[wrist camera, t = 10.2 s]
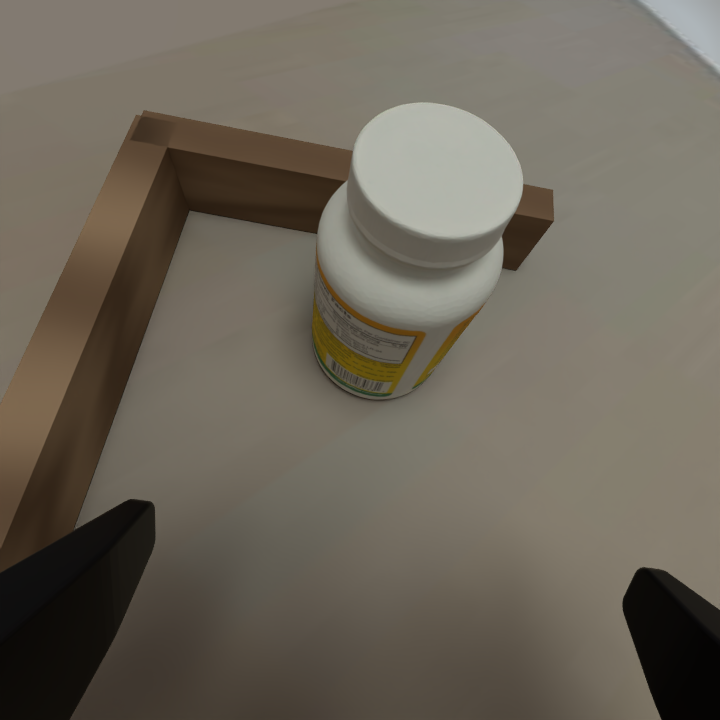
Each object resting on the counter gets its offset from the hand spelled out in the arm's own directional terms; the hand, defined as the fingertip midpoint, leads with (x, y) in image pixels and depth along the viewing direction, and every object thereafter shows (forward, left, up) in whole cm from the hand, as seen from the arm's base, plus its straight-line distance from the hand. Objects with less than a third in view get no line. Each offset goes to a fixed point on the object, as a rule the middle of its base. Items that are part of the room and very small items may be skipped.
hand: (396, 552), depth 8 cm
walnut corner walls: (+3, +6, -8) cm, 11 cm away
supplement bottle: (+6, +5, -8) cm, 12 cm away
